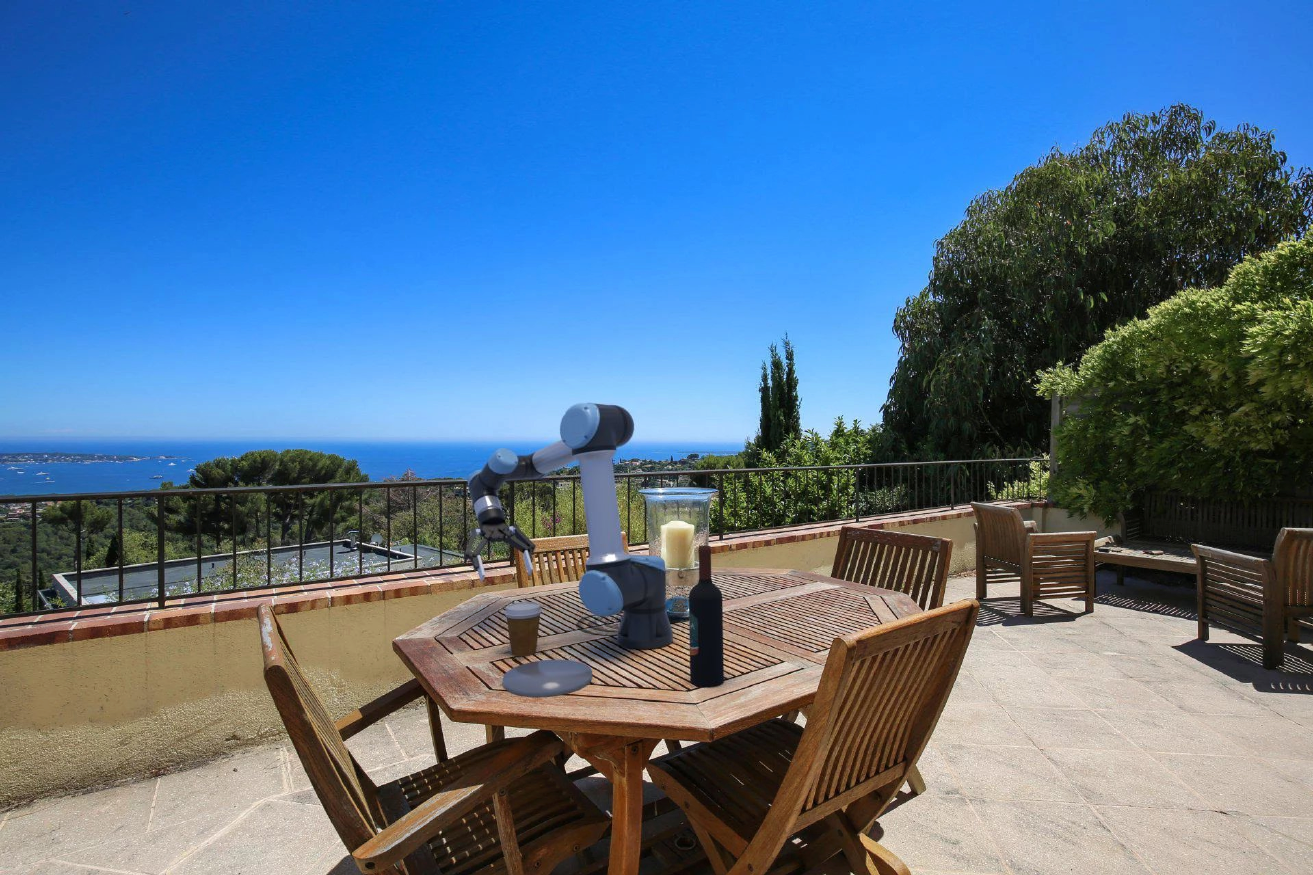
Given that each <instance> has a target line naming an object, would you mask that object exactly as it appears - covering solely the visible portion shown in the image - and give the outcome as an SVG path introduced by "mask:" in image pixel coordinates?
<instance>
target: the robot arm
mask: <svg viewBox="0 0 1313 875" xmlns="http://www.w3.org/2000/svg"><path fill="white" fill-rule="evenodd" d="M634 431H635V423H634V419H633V417H632V415H631V413H630V412H629V411H628V410H626V409H625V408H624V407H622V406H621V405H620V406H619V405H615V404H604V403H603V404H602V403H595V402H594V403H593V402H584V403H583V402H581V403H575V404H573V405H571V406H569V408H568V409H567V410H566V411H565V413H564V414H563V416H562V418H561V421H560V425H559V434H560V440H558V441H556V442H554V443H552V444H549V445H547V446H545V447H543V448H541V449H538V450H536V451H534V452H532V453H530V454H526V455H525V454H524V455H523V454H521V455H517V454H516V453H515V452H513V451H512V450H510V449H507V448H505V447H500V448H498V449H497V450H495V452H494V453H493V454H492V455H491V456H490V457H489V458H488V461H487V462H486V464H485V465H484V466H483V468H482V469H478V470H475V471H474V472H471V473H470V474H469V475H468V477H467V485H468V486H467V488H468V493H469V494H470V497H471V501H472V505H473V508H474V512H475V516H476V518H477V523H478V527H479V528H476V527H475V526H471V529H470V532H469V538H470V539H469V541H468V544H467V546H466V549H465V552H464V556H463V560H469V561H470V563H471V564H472V567H473V569H474V570H477V574H478V577H479V581H480V582H482V581H484V579H485V577H486V572H485V568H484V564H483V561H482V558H481V555H480V553H482V551H483V549H484V548H485V546H486V545H487V544H488V543H491V544H493V543H496V542H497V543H502V542H504V543H506V544H509V545H510V546H511V547H513V548H514V549H516V550H517V551H519V552H520V553H522V554H523V555H522V558H523V562H524V565H525V568H526V572H527V575H528V576H532V574H533V571H534V566H533V560H534V558H533V555H532V553H534V551H535V549H536V548H537V545H536V544H535V543H534V542H533V541H532V540H531V539H530V538H529V537H528V536H527V535H526V534H525V533H524V532H523V531H522V530H521V529H520V527H519V525H518V524H517V523H514V524H513V525H512V526H508V524H507V521H506V518H505V515H504V512H503V508H502V506H501V501H500V498H499V495H498V491H499V490H500V489H501V487H502V486H503V485H504V483H505V482H508V481H520V480H523V481H524V480H539V479H544V478H547V477H548V475H549V474H550V473H551V472H553V471H555V470H557V469H560V468H562V467H565V466H568V465H569V464H573V463H575V462H578V466H579V472H580V482H581V489H582V497H583V499H582V500H583V505H584V508H583V509H584V514H585V515H584V517H585V522H586V532H587V539H588V540H587V541H588V549H589V557H588V559H587V560H586V561H585V563H584V564H585V573H583V575H582V576H581V578H580V580H579V583H578V593H579V597H580V600H581V603H582V604H583V606H584V607H585V608H586V609H587V610H588V612H590V613H591V614H593V615H595V616H598V617H608V616H615V615H617V614H619V613H621V612H622V617H621V619H620V623H619V626H618V629H617V633H616V638H617V639H616V641H617V644H618V645H619V646H622V647H624V648H628V649H634V650H635V649H636V650H653V649H659V648H663V647H666V646H668V645H670V644H672V643H673V642H674V640H673V639H674V632H673V629H672V626H671V622H670V619H669V617H668V614H667V597H666V595H667V594H666V593H667V592H666V590H667V589H666V587H667V586H666V585H667V583H666V580H667V579H666V577H667V576H666V573H667V570H666V562H665V560H664V559H663V557H660V556H655V555H642V554H641V555H639V554H628V553H627V552H625V550H624V545H623V544H624V543H623V538H622V536H623V535H622V530H621V519H620V514H619V505H618V504H619V503H618V497H617V489H616V488H617V487H616V480H615V473H614V465H613V458H614V456H615V455H616V454H617V452H618V450H617V448H620V447H623V446H624V445H626V444H627V443H628V442H630V441H631V439H632V438H633V436H634ZM478 535H480V536H482V539H481V540H480V542H479V543H478V545H477V546H476V548H475V549H474V551H471V550H472V548H473V545H474V543H475V542H474V541H475V539H476V538H477V537H478Z"/></svg>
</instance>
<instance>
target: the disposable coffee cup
mask: <svg viewBox="0 0 1313 875" xmlns="http://www.w3.org/2000/svg"><path fill="white" fill-rule="evenodd" d="M542 611H543V609H542V608H541V604H540V603H538V602H534V601H523V602H521V601H520V602H515V603H511V604H508V605H506V607H505V611H504V615H505V617H506V623H507V624H506V625H507V631H508V638H509V646H510V653H511V655H512V656H514V657H529V656H532V655H534V654H536V652H537V646H538V638H539V637H538V636H539V629H540V628H539V627H540V620H541V619H540V618H541V614H542Z"/></svg>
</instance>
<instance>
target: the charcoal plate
mask: <svg viewBox="0 0 1313 875" xmlns="http://www.w3.org/2000/svg"><path fill="white" fill-rule="evenodd" d="M591 681H593V670H592V668H591V667H590V666H589V665H588V664H586V663H583V662H580V661H577V660H571V659H558V658H557V659H542V660H536V661H531V662H526V663H523V664H520V665H517V666H515V667H513V668H511V669H509V670H507V671H506V672H505V673H504V675H503V676H502V686H503V688H504V689H505V690H506V691H507V692H509V693H511V694H513V695H517V696H521V697H528V698H529V697H530V698H531V697H532V698H546V697H556V696H557V697H558V696H563V695H567V694H570V693H574V692H577V691H579V690H581V689H583V688H585V687H587V686H588V685H589V684H590V683H591Z"/></svg>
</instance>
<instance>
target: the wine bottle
mask: <svg viewBox="0 0 1313 875" xmlns="http://www.w3.org/2000/svg"><path fill="white" fill-rule="evenodd" d="M697 554H698V582H697V583H696V585H694V586H693V587H692V588H691V589H690V591H689V594H688V624H689V625H688V628H689V635H688V636H689V637H688V638H689V683H690V684H692V685H693V684H694V685H693V686H695V685H696V686H695V687H699V688H716V687H720V686H722V685H723V684H725V673H724V672H725V671H724V670H725V669H724V666H725V665H724V622H723V621H724V617H723V616H724V613H723V612H724V611H723V610H724V608H723V593H722V590H720V588H719V587H718V586H716V584H714V583H713V580H712V547H711V545H699V546H698V553H697Z"/></svg>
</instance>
